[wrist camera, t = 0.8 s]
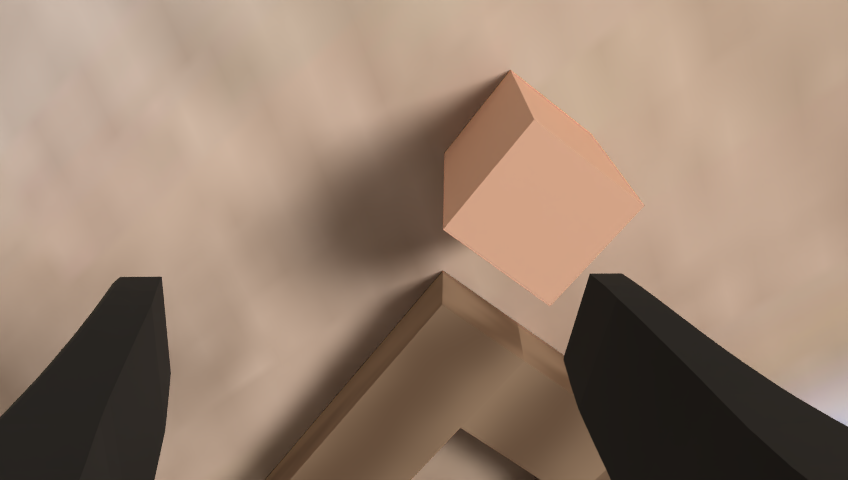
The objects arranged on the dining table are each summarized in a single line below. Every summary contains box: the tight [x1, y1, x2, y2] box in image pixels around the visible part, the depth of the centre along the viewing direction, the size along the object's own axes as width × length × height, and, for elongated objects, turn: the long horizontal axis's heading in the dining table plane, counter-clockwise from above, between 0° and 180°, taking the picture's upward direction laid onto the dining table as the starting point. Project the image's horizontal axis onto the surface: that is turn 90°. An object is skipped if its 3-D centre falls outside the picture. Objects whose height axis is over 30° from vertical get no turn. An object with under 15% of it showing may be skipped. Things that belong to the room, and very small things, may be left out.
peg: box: [443, 70, 645, 306], centre depth 24 cm, size 4×4×8 cm
